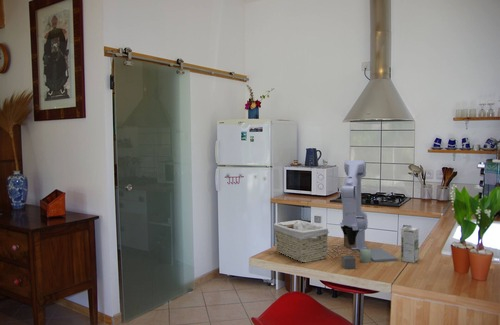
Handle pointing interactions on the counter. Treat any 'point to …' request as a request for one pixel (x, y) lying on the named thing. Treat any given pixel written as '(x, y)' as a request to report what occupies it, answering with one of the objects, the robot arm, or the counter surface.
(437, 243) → the counter surface
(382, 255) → the slate mat
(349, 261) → the charcoal cube
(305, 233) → the storage basket
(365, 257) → the sage cylinder
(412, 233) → the syrup box
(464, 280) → the counter surface
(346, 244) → the walnut block
